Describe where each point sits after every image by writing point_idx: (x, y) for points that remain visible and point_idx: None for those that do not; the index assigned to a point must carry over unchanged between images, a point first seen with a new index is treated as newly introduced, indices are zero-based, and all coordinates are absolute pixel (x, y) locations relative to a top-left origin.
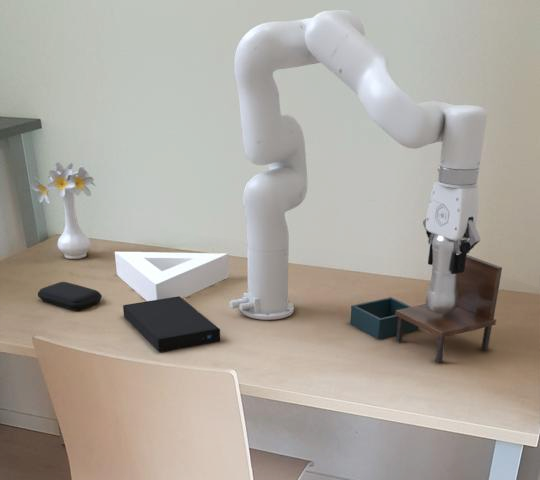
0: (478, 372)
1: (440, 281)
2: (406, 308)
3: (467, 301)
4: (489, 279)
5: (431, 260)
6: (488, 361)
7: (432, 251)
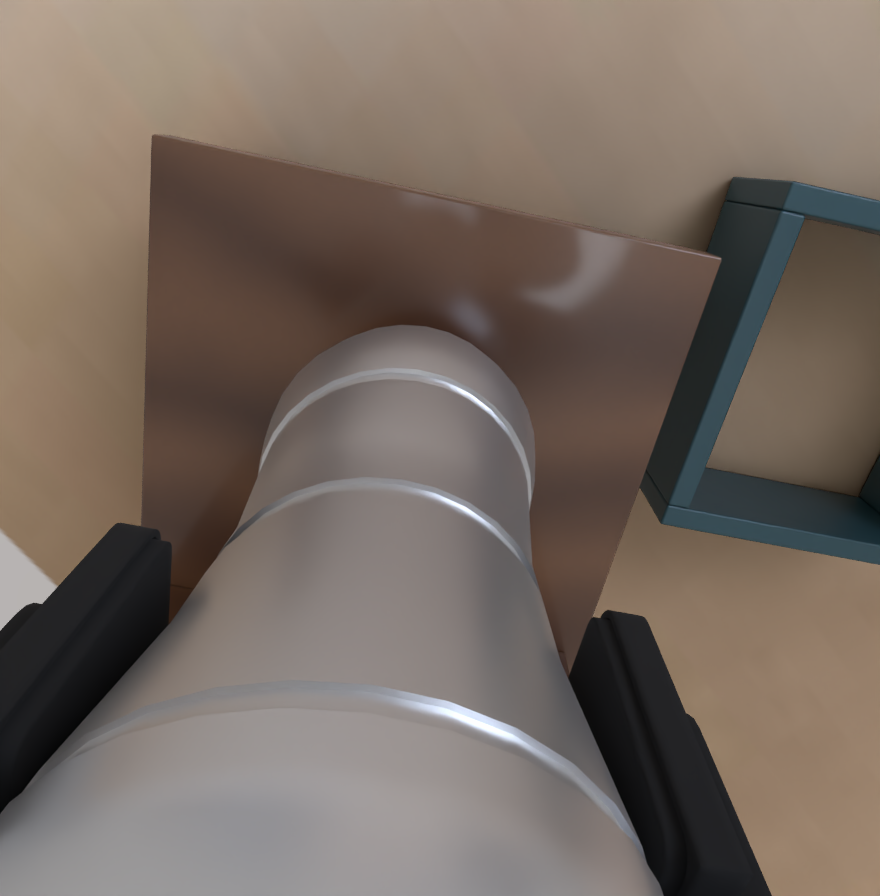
0: (32, 234)
1: (323, 442)
2: (676, 355)
3: None
4: None
5: (604, 659)
6: (115, 396)
7: (638, 774)
